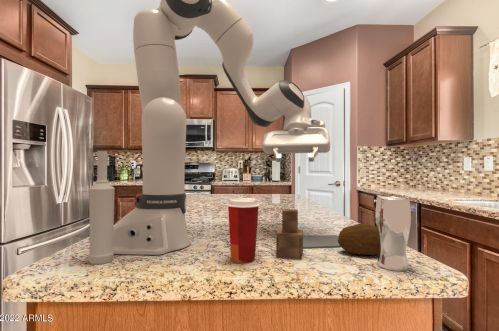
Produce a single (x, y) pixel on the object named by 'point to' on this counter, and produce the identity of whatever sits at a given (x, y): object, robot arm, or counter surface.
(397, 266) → the beer glass
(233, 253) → the paper cup
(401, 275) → the counter surface
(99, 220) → the bottle
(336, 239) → the grey mat
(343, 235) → the potato
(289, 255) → the walnut cover
